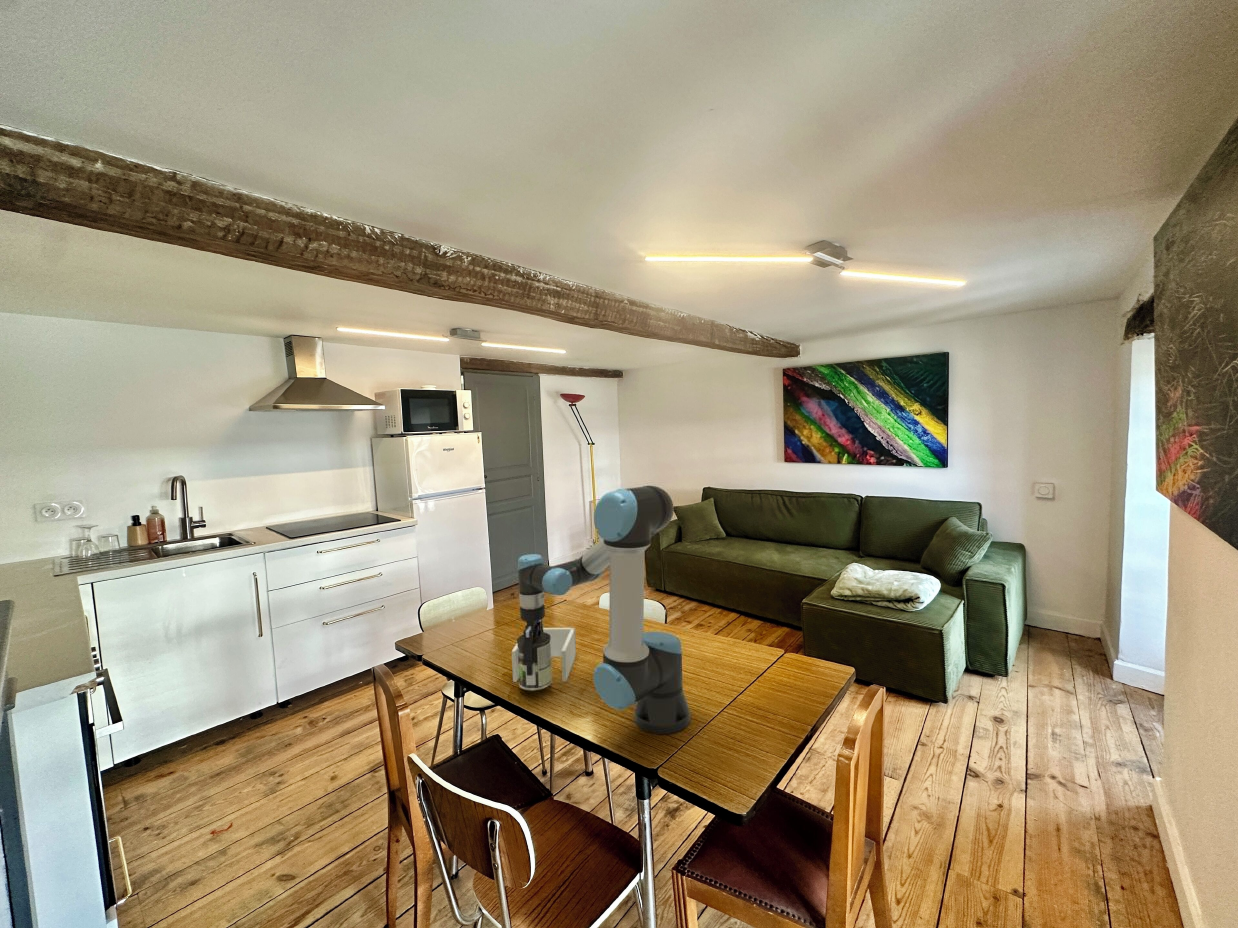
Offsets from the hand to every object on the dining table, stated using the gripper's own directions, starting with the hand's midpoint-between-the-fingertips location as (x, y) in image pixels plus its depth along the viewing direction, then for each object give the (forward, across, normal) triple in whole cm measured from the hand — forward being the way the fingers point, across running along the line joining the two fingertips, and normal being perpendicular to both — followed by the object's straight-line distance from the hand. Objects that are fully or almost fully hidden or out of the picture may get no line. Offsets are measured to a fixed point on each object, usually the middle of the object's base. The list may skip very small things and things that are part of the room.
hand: (535, 675), depth 151 cm
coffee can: (+2, 0, 0) cm, 2 cm away
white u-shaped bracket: (+4, +14, 0) cm, 15 cm away
